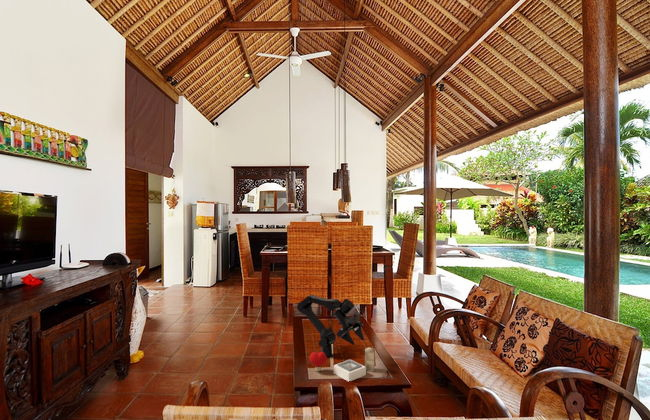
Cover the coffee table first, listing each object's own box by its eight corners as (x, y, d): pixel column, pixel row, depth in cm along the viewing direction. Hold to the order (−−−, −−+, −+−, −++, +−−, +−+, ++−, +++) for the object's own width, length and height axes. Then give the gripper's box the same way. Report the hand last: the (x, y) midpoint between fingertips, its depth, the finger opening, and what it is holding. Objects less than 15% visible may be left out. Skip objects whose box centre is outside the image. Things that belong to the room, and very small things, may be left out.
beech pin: (363, 369, 182) (363, 349, 183) (369, 367, 185) (369, 346, 186) (369, 372, 178) (369, 351, 179) (376, 370, 181) (376, 349, 182)
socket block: (333, 373, 178) (333, 364, 178) (350, 367, 185) (350, 358, 185) (348, 381, 168) (348, 372, 168) (365, 374, 176) (365, 365, 176)
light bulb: (326, 368, 184) (326, 349, 184) (327, 374, 177) (327, 354, 177) (309, 368, 183) (309, 350, 184) (309, 374, 176) (309, 355, 177)
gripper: (340, 313, 184) (357, 338, 176) (360, 307, 198) (376, 329, 190) (329, 325, 189) (345, 350, 181) (349, 318, 203) (364, 340, 195)
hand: (358, 342), depth 187 cm, fingers open, 9 cm apart
